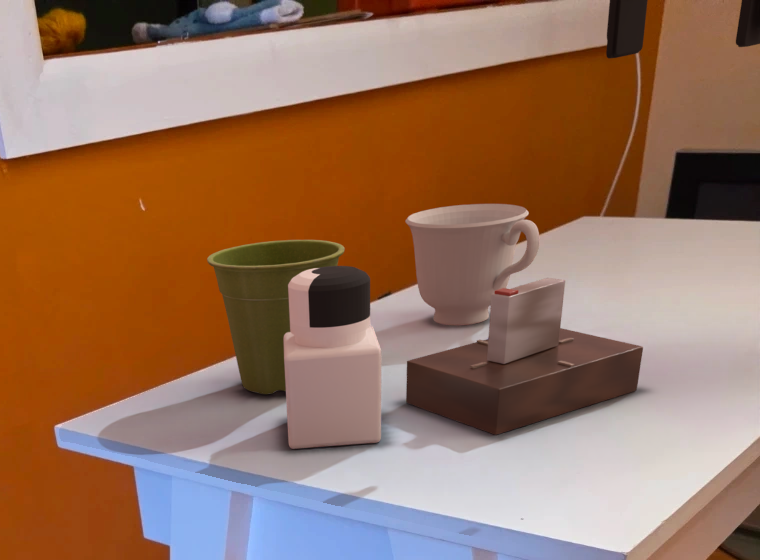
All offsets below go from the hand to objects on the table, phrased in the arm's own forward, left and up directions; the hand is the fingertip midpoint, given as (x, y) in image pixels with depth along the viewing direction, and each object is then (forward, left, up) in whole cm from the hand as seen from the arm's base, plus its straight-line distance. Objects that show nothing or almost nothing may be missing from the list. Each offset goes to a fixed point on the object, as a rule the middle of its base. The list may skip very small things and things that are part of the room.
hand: (685, 50), depth 65 cm
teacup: (-7, -27, -23) cm, 37 cm away
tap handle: (+7, -5, -19) cm, 21 cm away
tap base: (+7, -5, -23) cm, 25 cm away
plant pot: (+19, -23, -23) cm, 38 cm away
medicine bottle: (+23, -9, -23) cm, 34 cm away
